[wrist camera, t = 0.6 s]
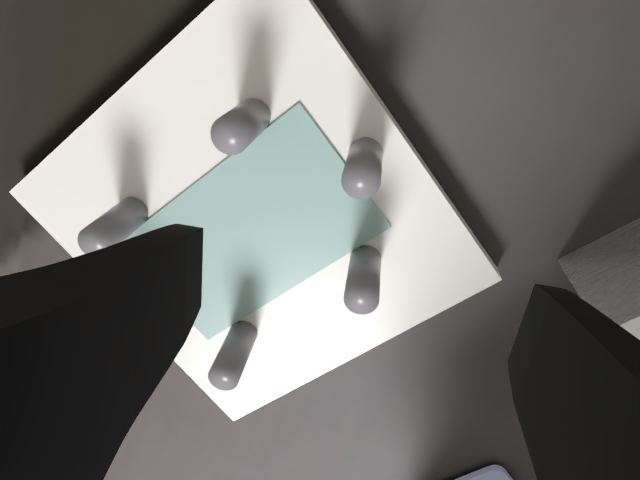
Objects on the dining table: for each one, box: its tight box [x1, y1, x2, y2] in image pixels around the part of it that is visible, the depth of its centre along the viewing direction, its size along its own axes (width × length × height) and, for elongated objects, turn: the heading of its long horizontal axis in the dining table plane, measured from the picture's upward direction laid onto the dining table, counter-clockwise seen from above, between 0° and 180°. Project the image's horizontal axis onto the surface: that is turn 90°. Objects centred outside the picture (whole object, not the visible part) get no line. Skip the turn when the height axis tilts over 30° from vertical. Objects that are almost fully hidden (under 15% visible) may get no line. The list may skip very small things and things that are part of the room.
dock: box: [9, 0, 502, 421], centre depth 19 cm, size 14×14×4 cm
